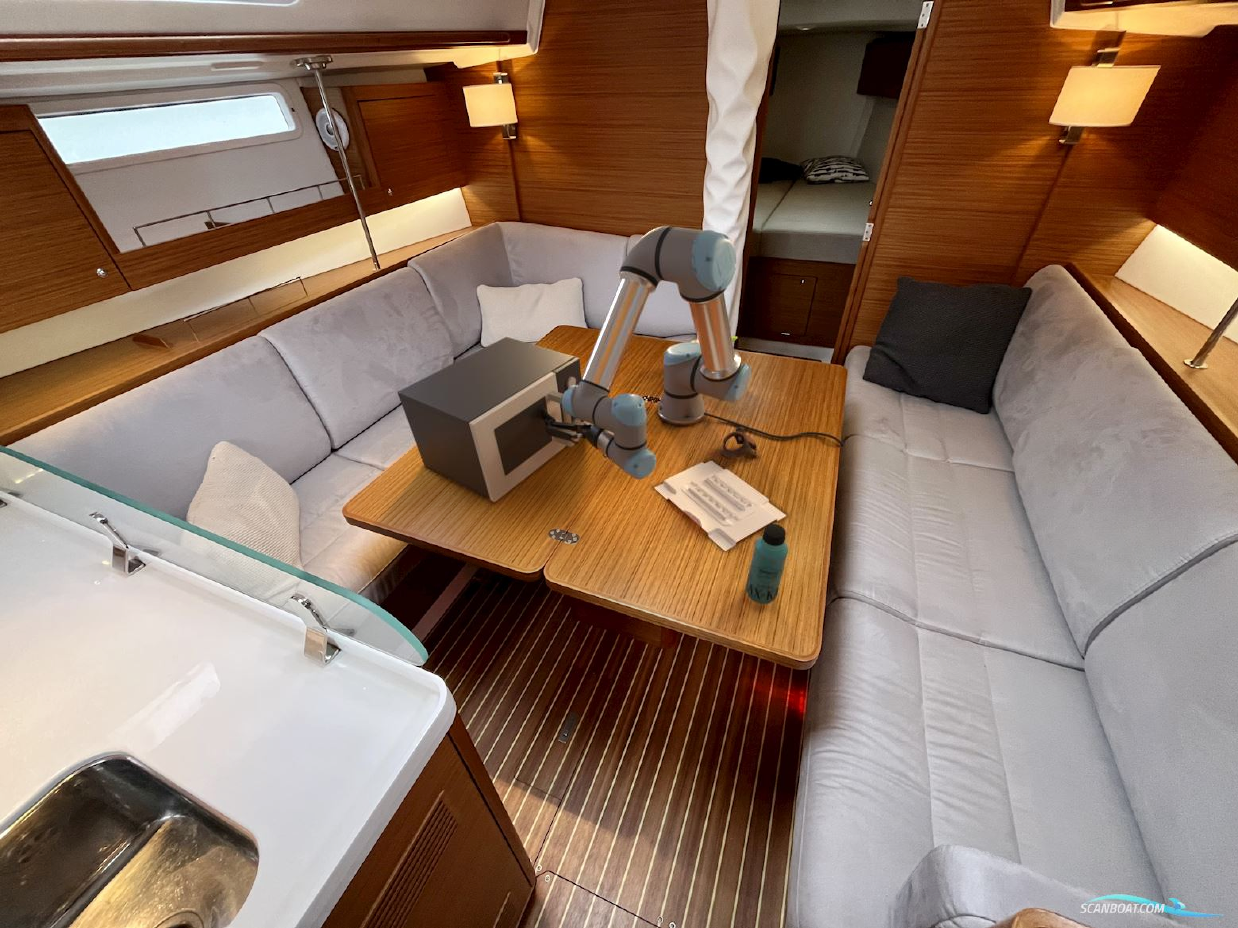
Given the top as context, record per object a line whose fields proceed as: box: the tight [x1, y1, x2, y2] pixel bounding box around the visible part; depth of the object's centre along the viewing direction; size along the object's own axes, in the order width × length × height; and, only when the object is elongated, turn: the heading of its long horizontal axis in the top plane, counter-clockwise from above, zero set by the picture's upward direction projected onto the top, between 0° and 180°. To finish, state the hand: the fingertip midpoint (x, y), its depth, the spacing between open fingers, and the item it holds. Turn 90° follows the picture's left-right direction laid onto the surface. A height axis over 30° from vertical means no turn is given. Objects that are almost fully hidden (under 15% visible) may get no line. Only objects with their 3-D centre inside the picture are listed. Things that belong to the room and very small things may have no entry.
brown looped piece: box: [721, 426, 758, 459], centre depth 142 cm, size 12×10×8 cm
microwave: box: [396, 336, 584, 501], centre depth 144 cm, size 30×40×25 cm
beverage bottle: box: [745, 523, 789, 605], centre depth 98 cm, size 6×7×20 cm
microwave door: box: [469, 372, 575, 503], centre depth 132 cm, size 8×30×25 cm, turn 145°
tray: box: [654, 460, 787, 552], centre depth 127 cm, size 20×28×4 cm
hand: (564, 405), depth 139 cm, fingers open, 13 cm apart
